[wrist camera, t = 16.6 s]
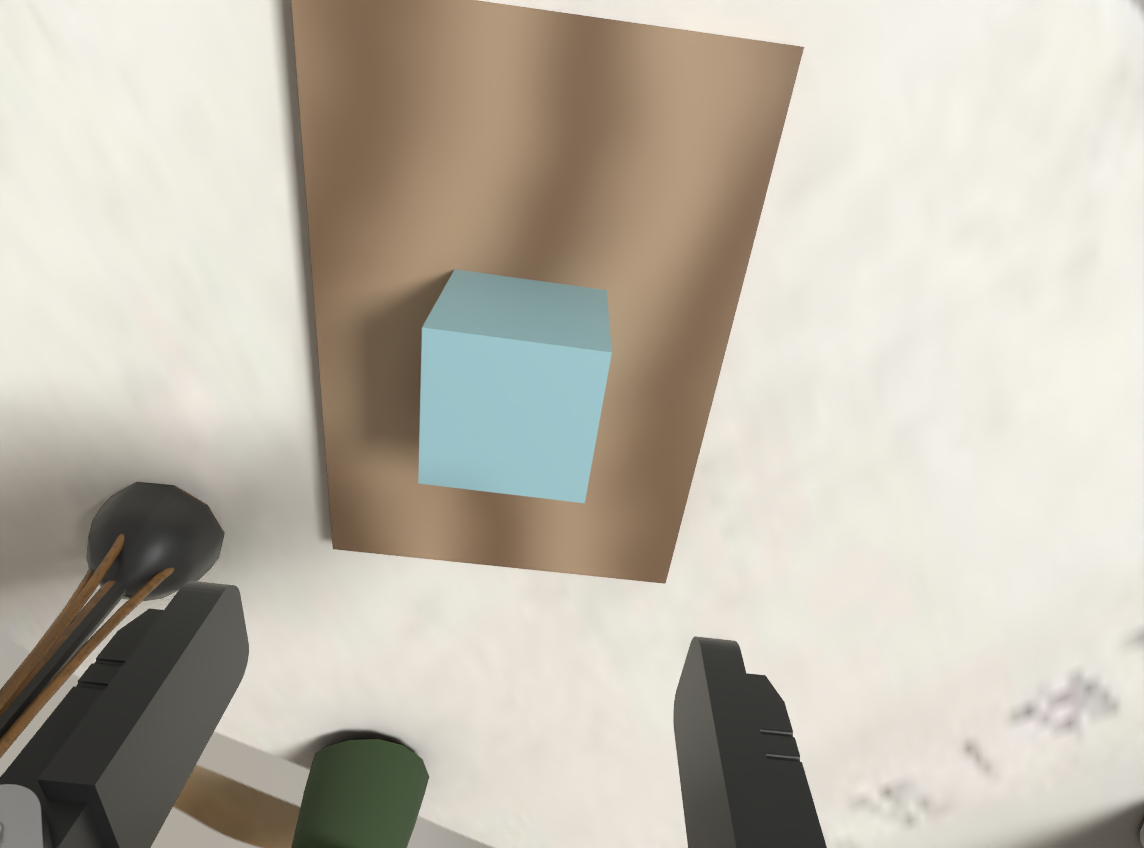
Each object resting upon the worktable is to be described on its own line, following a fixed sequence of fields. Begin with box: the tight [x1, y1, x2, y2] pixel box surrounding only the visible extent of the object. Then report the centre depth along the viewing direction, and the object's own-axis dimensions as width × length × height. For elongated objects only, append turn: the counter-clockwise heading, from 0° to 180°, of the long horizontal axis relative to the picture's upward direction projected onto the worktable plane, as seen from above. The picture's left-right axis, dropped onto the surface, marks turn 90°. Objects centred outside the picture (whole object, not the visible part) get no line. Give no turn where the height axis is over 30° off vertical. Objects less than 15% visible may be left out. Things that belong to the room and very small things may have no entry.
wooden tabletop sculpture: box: [0, 482, 224, 758], centre depth 20 cm, size 6×5×20 cm
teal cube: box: [418, 269, 612, 503], centre depth 21 cm, size 5×5×5 cm
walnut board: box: [291, 0, 804, 583], centre depth 24 cm, size 14×20×1 cm
